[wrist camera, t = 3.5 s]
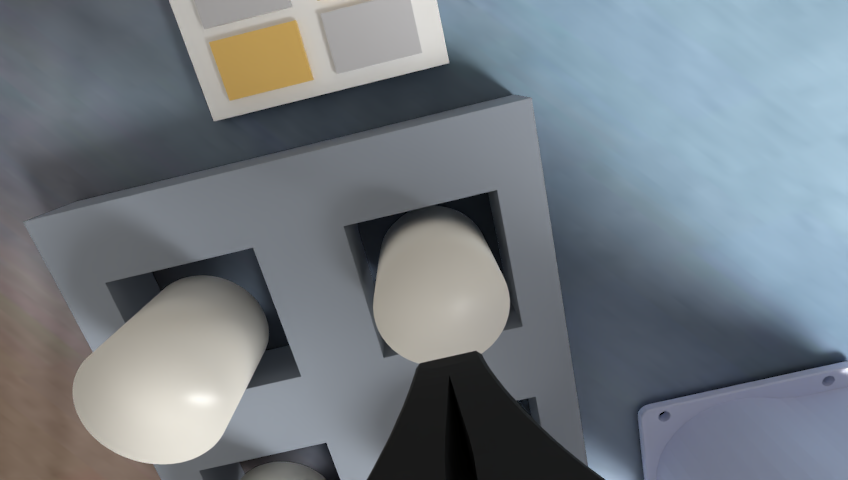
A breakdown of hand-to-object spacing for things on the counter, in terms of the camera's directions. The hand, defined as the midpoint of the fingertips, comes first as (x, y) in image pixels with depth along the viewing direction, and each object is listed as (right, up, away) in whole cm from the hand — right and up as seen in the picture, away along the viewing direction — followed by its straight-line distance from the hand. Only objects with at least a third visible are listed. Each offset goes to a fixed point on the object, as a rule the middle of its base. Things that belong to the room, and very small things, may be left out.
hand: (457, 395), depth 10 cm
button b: (0, +3, +8) cm, 8 cm away
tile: (-4, +11, +5) cm, 13 cm away
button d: (-8, 0, +6) cm, 10 cm away
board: (-3, -2, +10) cm, 10 cm away
